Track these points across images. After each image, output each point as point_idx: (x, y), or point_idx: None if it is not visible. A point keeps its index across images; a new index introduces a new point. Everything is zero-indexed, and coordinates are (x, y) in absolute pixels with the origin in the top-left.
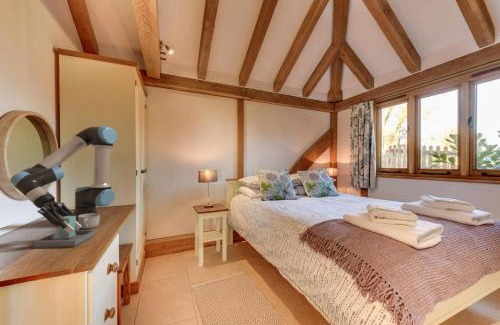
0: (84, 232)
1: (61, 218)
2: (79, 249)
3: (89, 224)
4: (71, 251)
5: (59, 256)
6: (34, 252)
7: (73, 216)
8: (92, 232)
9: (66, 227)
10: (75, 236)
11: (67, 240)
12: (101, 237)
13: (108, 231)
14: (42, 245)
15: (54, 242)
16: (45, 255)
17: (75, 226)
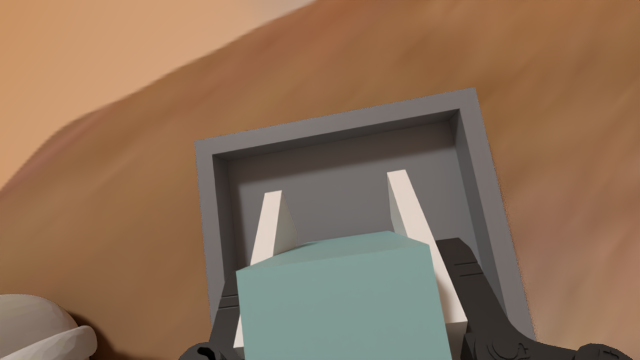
0: (227, 230)
1: None
2: (486, 44)
3: (53, 326)
4: (528, 67)
5: (620, 71)
6: (602, 320)
7: (283, 283)
8: (248, 132)
9: None
10: None
11: (475, 161)
12: (256, 79)
13: (130, 128)
14: None
15: (511, 256)
16: (629, 182)
17: (293, 248)
